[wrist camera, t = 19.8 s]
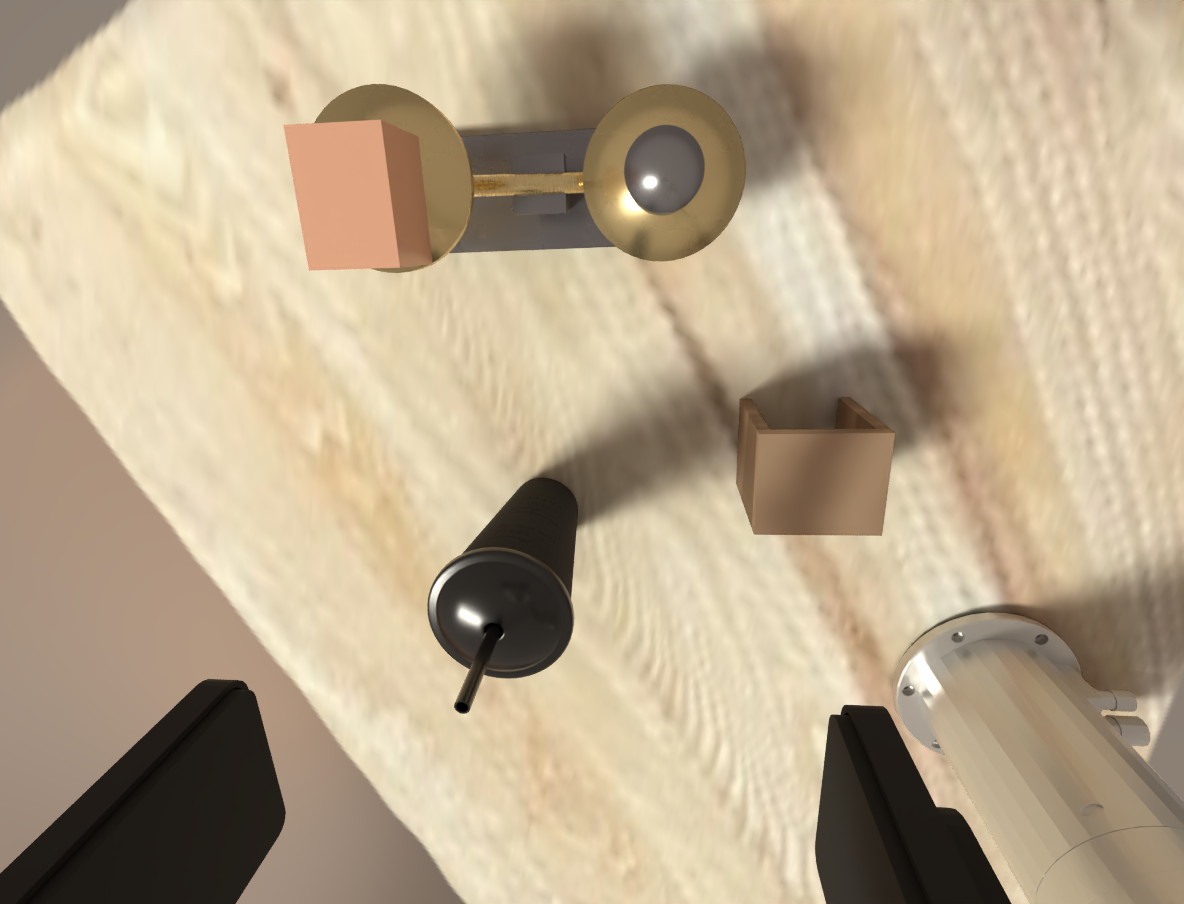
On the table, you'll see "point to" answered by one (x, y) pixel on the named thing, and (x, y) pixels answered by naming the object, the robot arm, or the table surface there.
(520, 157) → the balance
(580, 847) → the table surface
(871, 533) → the arch
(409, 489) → the table surface
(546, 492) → the drinking cup
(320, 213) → the block
